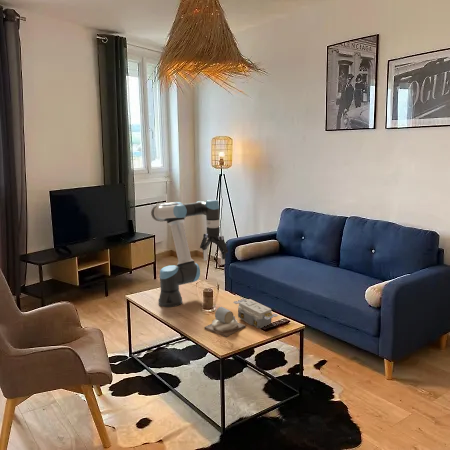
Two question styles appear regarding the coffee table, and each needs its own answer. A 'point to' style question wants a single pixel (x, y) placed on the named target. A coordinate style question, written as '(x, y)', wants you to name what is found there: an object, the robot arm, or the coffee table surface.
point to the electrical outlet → (254, 313)
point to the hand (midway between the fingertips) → (214, 262)
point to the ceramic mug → (224, 315)
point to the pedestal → (224, 327)
